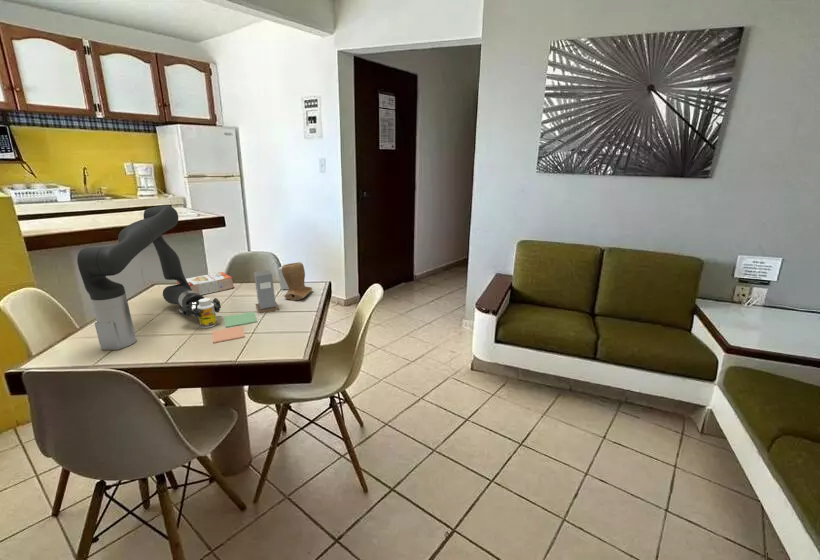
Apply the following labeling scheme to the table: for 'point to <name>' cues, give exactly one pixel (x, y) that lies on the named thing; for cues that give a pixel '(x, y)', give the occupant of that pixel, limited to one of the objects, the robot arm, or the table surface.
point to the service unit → (265, 292)
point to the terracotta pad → (228, 334)
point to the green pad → (240, 319)
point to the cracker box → (210, 283)
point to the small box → (282, 280)
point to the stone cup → (295, 281)
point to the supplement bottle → (207, 313)
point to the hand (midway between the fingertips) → (209, 312)
